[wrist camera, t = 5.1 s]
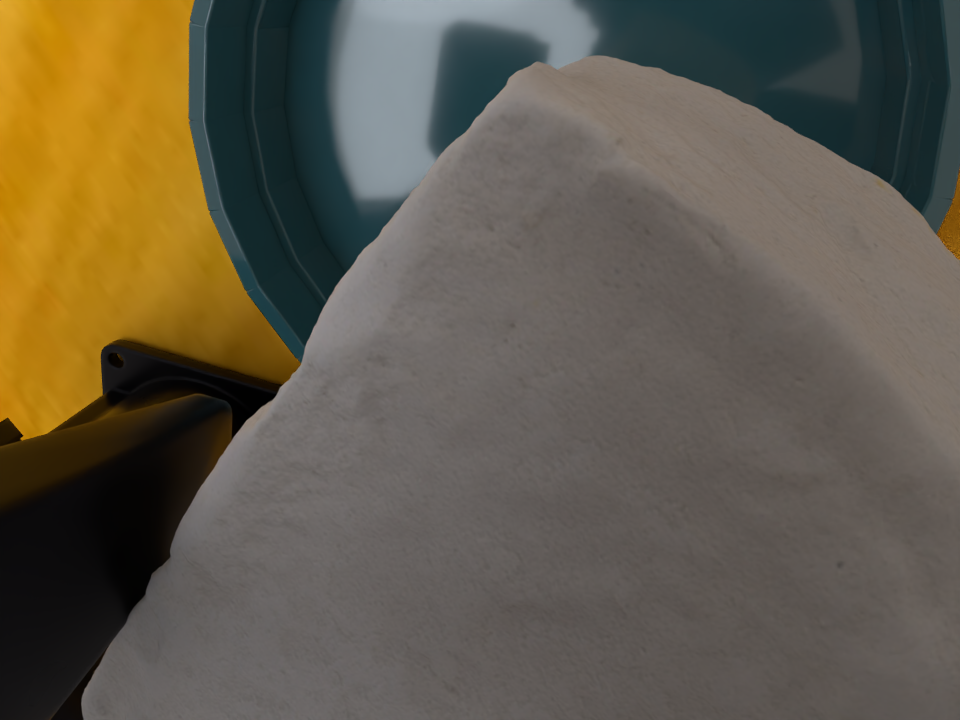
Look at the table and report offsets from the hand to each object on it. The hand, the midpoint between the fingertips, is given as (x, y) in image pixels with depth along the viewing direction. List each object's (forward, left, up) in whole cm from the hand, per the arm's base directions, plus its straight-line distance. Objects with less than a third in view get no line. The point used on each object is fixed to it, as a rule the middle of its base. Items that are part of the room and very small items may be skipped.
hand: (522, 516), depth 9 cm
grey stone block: (0, 0, -1) cm, 1 cm away
